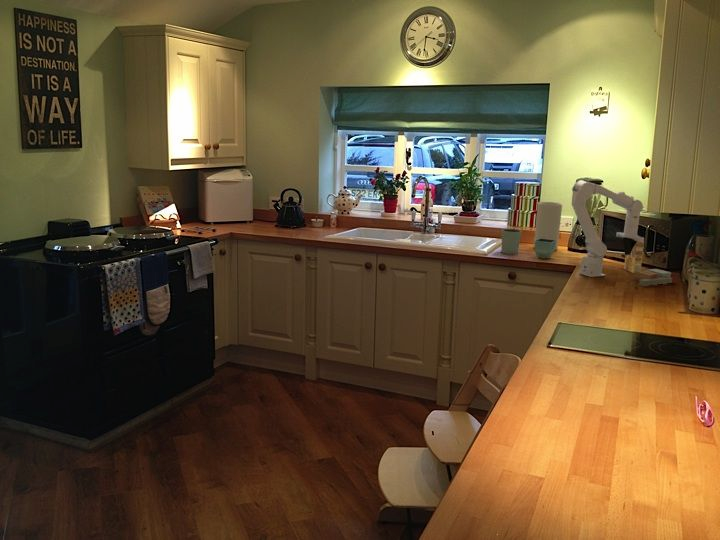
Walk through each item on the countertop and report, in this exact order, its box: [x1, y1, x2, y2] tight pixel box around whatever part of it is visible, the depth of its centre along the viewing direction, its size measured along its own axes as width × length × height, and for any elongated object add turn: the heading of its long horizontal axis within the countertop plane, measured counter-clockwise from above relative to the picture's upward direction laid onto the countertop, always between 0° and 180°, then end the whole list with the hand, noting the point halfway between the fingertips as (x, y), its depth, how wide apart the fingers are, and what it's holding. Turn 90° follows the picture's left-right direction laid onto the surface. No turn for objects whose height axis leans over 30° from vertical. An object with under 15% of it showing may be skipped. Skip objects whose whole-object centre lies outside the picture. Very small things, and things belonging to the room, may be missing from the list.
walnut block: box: [633, 269, 659, 282], centre depth 312 cm, size 6×8×4 cm
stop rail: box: [638, 277, 674, 287], centre depth 308 cm, size 18×2×2 cm, turn 117°
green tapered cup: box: [501, 228, 522, 255], centre depth 364 cm, size 10×10×12 cm
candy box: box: [623, 241, 645, 274], centre depth 332 cm, size 9×4×15 cm, turn 8°
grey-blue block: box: [646, 268, 672, 278], centre depth 316 cm, size 6×8×4 cm
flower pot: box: [534, 238, 556, 259], centre depth 356 cm, size 9×9×9 cm
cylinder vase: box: [533, 201, 563, 252], centre depth 377 cm, size 12×12×25 cm
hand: (627, 254), depth 321 cm, fingers closed
